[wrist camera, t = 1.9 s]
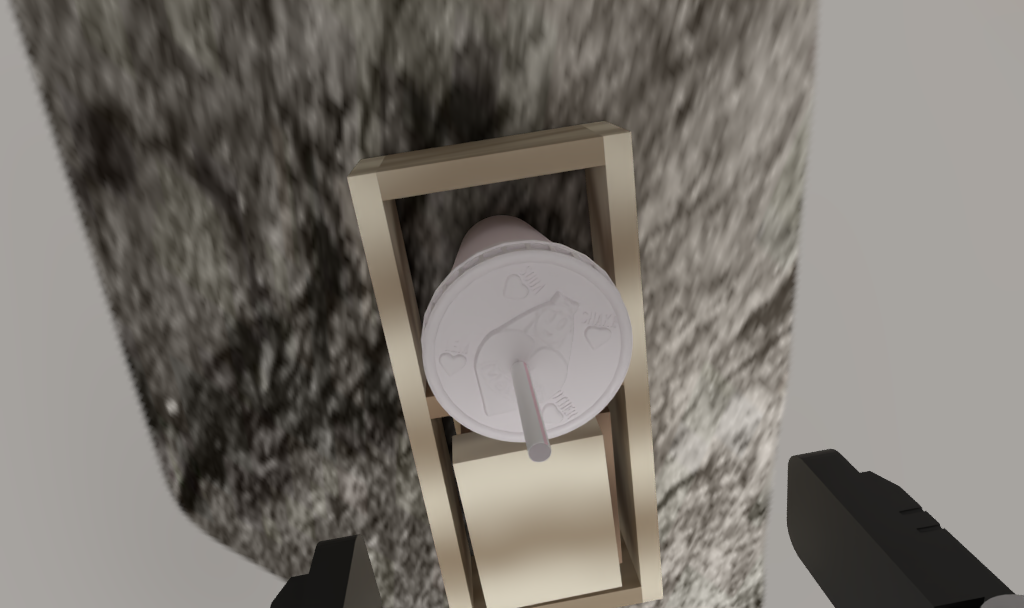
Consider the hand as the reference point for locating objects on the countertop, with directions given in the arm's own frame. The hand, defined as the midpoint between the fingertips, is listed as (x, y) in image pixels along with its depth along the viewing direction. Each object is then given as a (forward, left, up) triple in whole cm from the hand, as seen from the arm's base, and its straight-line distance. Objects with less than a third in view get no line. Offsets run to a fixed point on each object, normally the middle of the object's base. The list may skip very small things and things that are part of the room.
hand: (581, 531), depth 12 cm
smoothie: (0, 0, -17) cm, 17 cm away
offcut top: (+10, 0, -14) cm, 17 cm away
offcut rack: (+6, 0, -17) cm, 18 cm away
